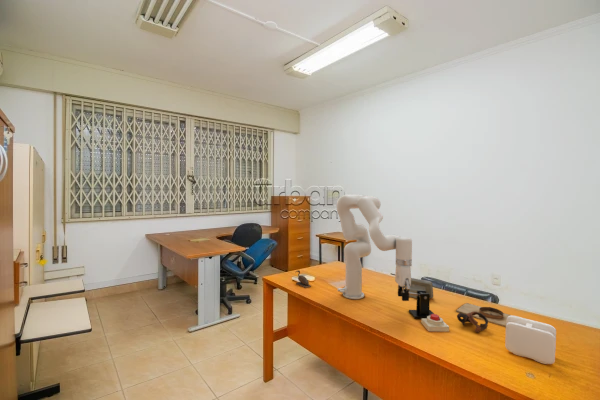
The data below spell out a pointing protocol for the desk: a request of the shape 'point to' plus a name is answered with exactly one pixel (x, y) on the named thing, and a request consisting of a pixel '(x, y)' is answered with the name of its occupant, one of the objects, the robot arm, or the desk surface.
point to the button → (435, 317)
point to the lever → (411, 293)
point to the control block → (434, 324)
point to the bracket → (422, 306)
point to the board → (485, 313)
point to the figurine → (302, 281)
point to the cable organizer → (531, 339)
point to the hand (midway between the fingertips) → (403, 298)
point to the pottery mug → (473, 320)
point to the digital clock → (420, 287)
